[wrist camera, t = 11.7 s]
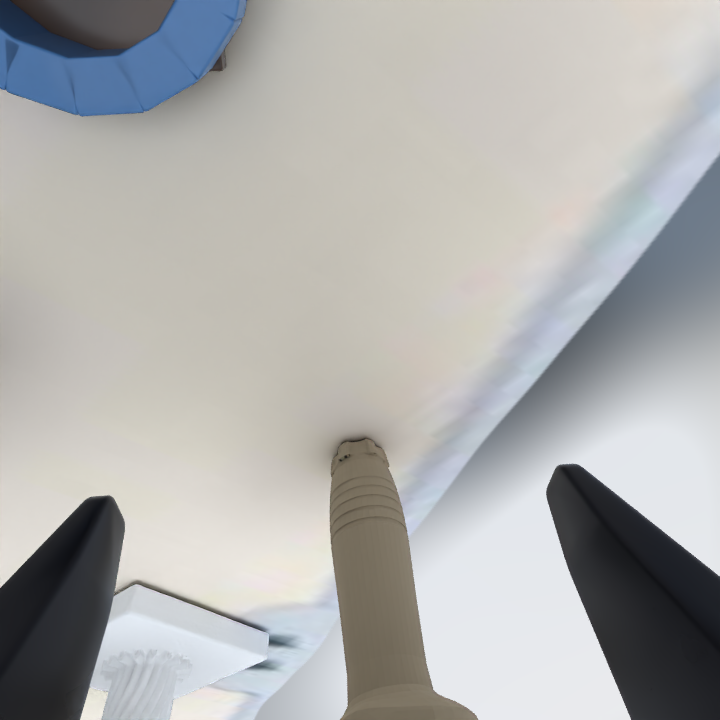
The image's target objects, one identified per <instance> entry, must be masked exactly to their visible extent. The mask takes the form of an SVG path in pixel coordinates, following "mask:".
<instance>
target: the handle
mask: <svg viewBox="0 0 720 720" xmlns="http://www.w3.org/2000/svg"><path fill="white" fill-rule="evenodd" d="M388 467H389V463H388V460H387V457H386V454H385V452H384V450H383V449H382V448H379V447H377V446H375V444H374V442H373V441H372V440H369V439H364V440H362V441H357V442H349V441H347V442H345V443H343V444H342V445H340V446H339V449H338V455H337V456H336V457H334V458H333V460H332V466H331V477H332V482H331V493H330V533H331V545H332V547H331V549H332V557H333V564H334V572H335V580H336V587H337V595H338V602H339V610H340V618H341V626H342V635H343V644H344V653H345V661H346V670H347V686H348V687H347V691H348V707H347V709H346V711H345V713H344V715H343V717H342V718H341V719H340V720H478V718H477V716H476V715H475V714H474V713H473V712H472V711H470V710H469V709H468V708H466V707H464V706H463V705H461V704H459V703H457V702H455V701H453V700H450V699H448V698H444V697H443V696H440V695H438V694H437V693H436V692H435V691H434V690H433V687H432V683H431V679H430V675H429V672H428V668H427V664H426V658H425V652H424V646H423V639H422V632H421V626H420V619H419V613H418V606H417V600H416V592H415V584H414V577H413V570H412V562H411V555H410V547H409V540H408V535H407V528H406V524H405V519H404V514H403V511H402V506H401V502H400V499H399V495H398V492H397V489H396V486H395V483H394V480H393V478H392V475H391V473H390V471H389V469H388Z"/></svg>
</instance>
